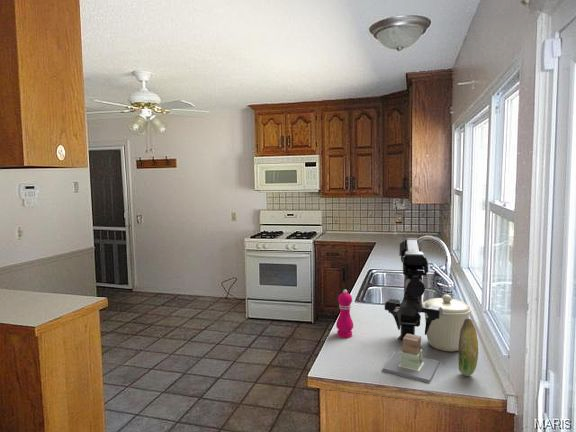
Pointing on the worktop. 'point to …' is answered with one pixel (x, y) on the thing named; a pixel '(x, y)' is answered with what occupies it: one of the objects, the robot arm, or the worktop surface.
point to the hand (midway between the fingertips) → (412, 332)
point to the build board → (421, 374)
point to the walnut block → (412, 344)
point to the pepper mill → (344, 316)
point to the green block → (411, 360)
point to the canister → (447, 323)
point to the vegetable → (468, 348)
